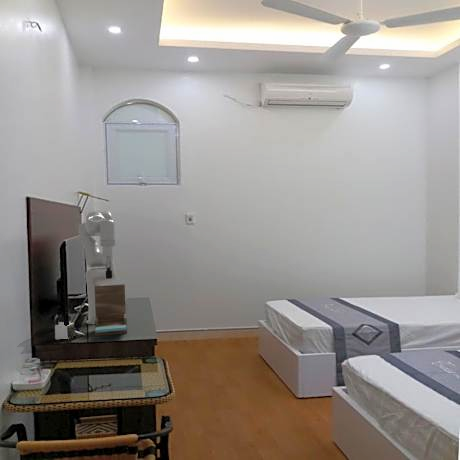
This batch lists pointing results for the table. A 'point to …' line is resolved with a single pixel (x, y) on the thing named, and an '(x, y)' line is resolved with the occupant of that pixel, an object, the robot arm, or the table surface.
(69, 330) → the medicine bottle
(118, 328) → the panel
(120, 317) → the striped wooden block
